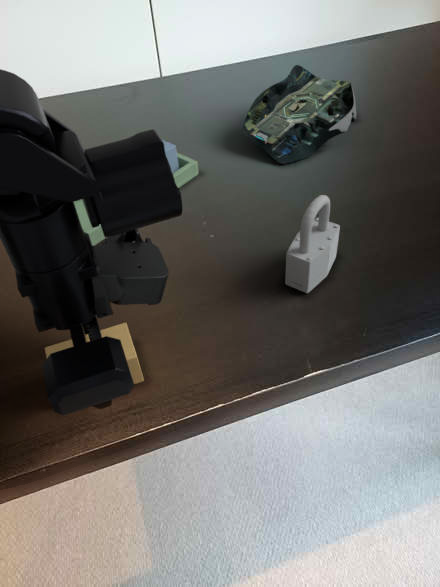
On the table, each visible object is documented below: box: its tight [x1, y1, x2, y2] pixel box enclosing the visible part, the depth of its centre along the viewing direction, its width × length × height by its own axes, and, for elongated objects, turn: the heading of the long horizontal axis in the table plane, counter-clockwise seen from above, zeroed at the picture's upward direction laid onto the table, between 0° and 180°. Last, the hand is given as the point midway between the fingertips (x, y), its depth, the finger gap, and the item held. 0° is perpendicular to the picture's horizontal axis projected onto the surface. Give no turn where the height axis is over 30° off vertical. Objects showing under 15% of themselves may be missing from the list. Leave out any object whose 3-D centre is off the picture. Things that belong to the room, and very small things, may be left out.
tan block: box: [44, 322, 145, 385], centre depth 51 cm, size 8×5×4 cm, turn 110°
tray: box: [74, 152, 199, 246], centre depth 72 cm, size 21×9×2 cm, turn 139°
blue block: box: [162, 139, 179, 173], centre depth 74 cm, size 8×5×4 cm, turn 139°
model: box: [242, 64, 357, 165], centre depth 79 cm, size 20×9×14 cm
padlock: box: [284, 194, 341, 294], centre depth 57 cm, size 7×4×10 cm, turn 145°
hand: (95, 367), depth 52 cm, fingers open, 9 cm apart
